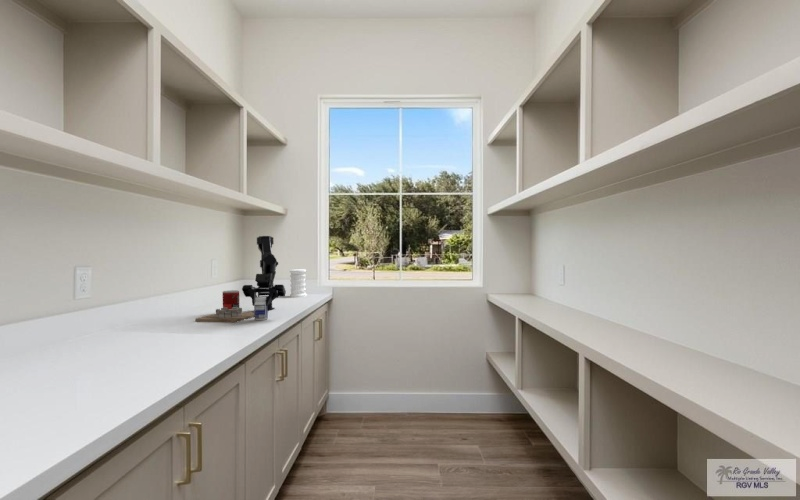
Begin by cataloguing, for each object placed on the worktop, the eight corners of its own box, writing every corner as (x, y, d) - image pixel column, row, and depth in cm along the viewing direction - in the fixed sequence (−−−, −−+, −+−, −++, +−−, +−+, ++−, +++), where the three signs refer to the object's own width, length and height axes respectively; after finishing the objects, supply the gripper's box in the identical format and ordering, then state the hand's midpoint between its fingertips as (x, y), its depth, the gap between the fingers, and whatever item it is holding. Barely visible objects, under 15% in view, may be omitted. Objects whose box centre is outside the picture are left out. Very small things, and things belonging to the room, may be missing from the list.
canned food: (234, 314, 207) (234, 291, 207) (219, 313, 208) (219, 291, 208) (242, 311, 215) (242, 290, 215) (228, 311, 216) (227, 290, 216)
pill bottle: (260, 318, 193) (260, 296, 193) (270, 318, 191) (270, 296, 191) (251, 320, 187) (251, 297, 187) (262, 320, 185) (261, 298, 185)
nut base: (223, 314, 206) (223, 305, 206) (260, 315, 201) (260, 306, 201) (195, 321, 186) (195, 311, 186) (235, 322, 182) (235, 312, 182)
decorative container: (295, 297, 278) (295, 270, 278) (286, 296, 286) (285, 270, 286) (310, 296, 286) (310, 269, 286) (300, 295, 294) (300, 269, 294)
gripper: (243, 267, 193) (233, 294, 182) (283, 266, 193) (276, 293, 182) (249, 283, 201) (241, 309, 190) (288, 282, 201) (282, 309, 190)
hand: (259, 305), depth 188 cm, fingers closed on pill bottle, 6 cm apart
